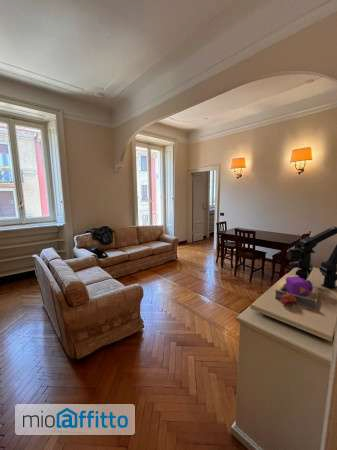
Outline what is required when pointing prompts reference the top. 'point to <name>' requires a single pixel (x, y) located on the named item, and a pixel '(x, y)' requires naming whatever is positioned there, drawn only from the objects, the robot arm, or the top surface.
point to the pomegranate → (288, 299)
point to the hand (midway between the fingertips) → (303, 282)
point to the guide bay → (299, 298)
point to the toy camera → (298, 286)
